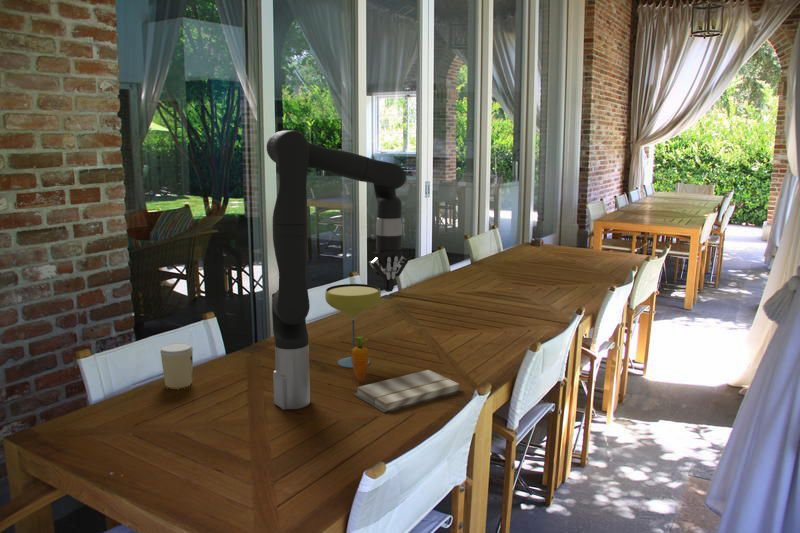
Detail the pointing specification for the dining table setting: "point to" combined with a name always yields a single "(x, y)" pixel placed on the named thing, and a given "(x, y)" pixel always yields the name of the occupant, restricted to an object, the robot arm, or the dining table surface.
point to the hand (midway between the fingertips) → (388, 291)
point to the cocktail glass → (352, 305)
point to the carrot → (360, 359)
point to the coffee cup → (177, 364)
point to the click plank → (397, 384)
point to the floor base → (413, 395)
